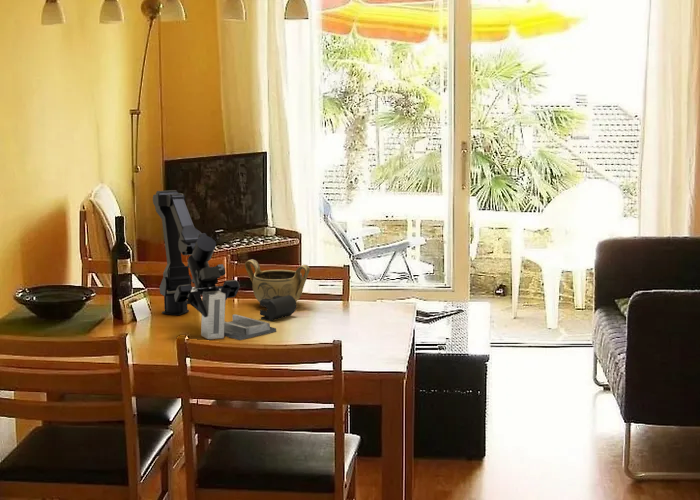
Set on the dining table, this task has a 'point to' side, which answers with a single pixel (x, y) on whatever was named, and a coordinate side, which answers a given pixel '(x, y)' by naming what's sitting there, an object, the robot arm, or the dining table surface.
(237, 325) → the slotted cradle
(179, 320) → the dining table surface
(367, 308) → the dining table surface
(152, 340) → the dining table surface
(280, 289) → the ceramic bowl
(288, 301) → the end cap
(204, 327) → the aluminium block
